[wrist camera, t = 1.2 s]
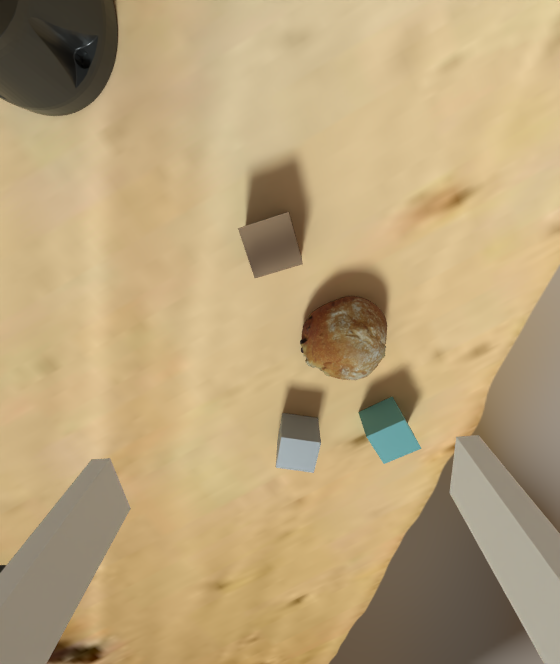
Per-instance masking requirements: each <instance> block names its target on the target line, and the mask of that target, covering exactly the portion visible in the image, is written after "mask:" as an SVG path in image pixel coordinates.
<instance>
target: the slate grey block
mask: <svg viewBox="0 0 560 664" xmlns="http://www.w3.org/2000/svg"><path fill="white" fill-rule="evenodd" d="M320 445H321V439H320V431H319V423H318V418H315V417H308V416H301V415H294V414H287V413H282V418H281V424H280V430H279V436H278V442H277V457H276V468H283V469H290V470H298V471H305V472H312V473H314V469H315V465H316V461H317V457H318V453H319V449H320Z"/></svg>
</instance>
